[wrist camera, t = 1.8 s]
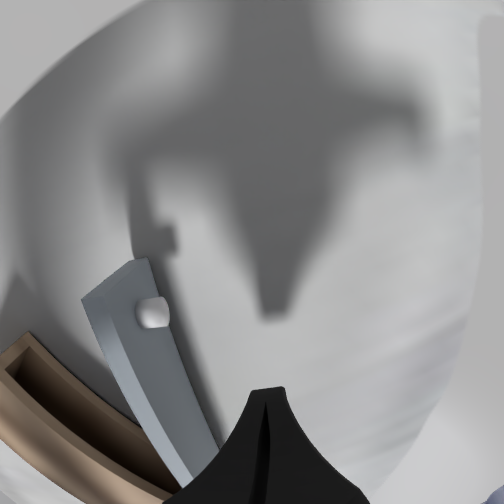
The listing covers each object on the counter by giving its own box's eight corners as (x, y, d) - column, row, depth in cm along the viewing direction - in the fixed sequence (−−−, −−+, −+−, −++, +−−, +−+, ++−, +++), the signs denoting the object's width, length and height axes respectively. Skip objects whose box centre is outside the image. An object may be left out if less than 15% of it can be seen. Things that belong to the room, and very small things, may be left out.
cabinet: (159, 499, 20) (149, 536, 16) (5, 386, 17) (-23, 416, 13) (221, 475, 18) (215, 522, 14) (27, 331, 16) (-13, 366, 11)
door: (217, 474, 18) (210, 522, 14) (129, 260, 14) (81, 299, 9) (244, 473, 18) (241, 523, 14) (167, 253, 14) (128, 292, 9)
